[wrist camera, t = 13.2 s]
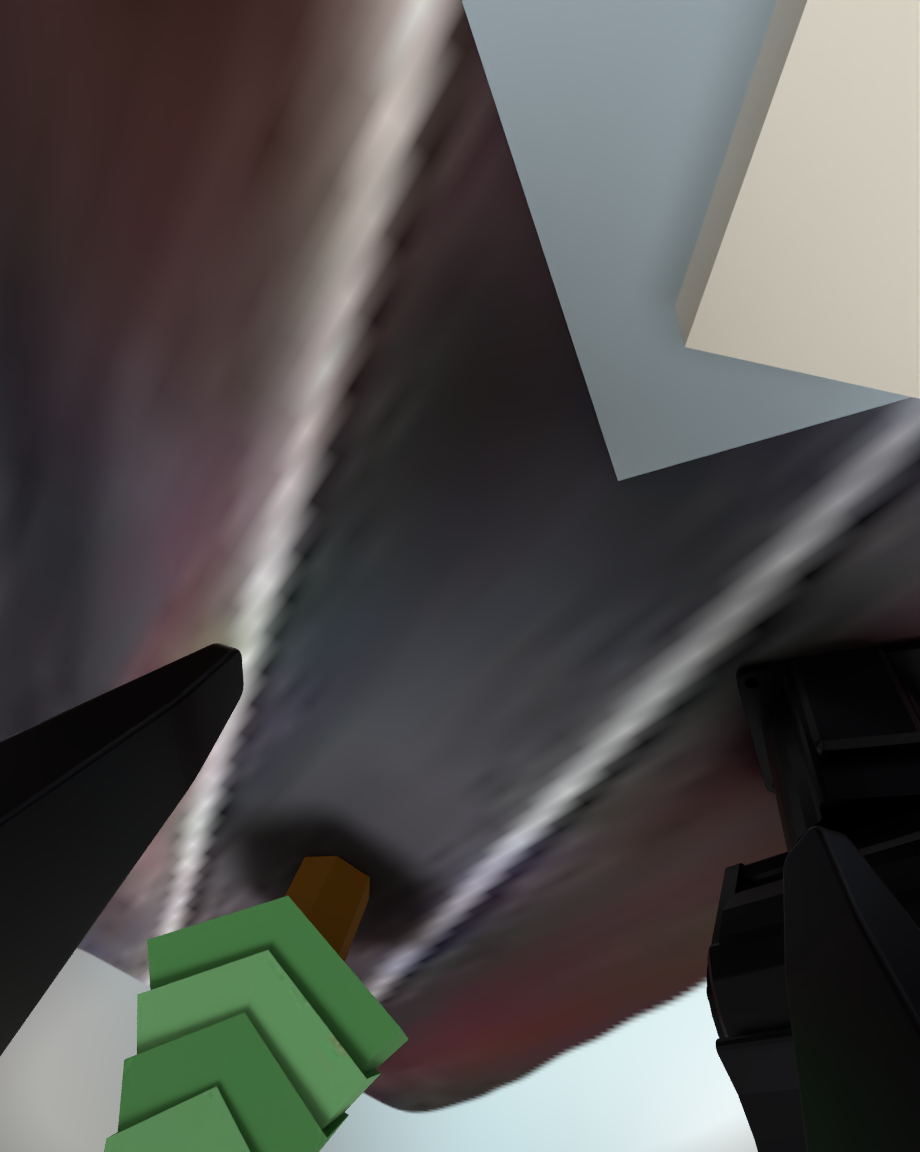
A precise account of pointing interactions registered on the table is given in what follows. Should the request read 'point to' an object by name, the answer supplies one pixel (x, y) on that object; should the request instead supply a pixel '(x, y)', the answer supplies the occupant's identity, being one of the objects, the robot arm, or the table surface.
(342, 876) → the decorative tree
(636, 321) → the slate mat
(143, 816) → the robot arm
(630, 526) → the table surface
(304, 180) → the table surface
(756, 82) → the tan block
